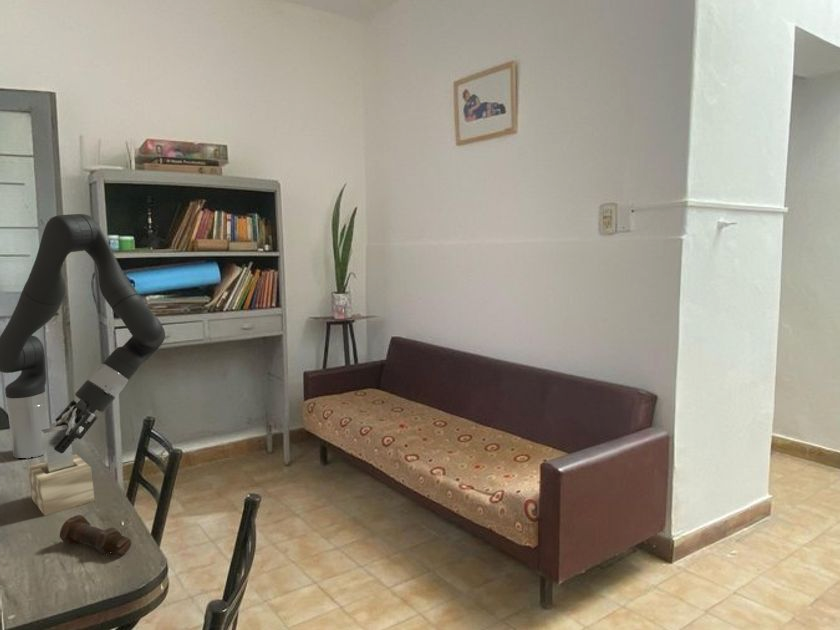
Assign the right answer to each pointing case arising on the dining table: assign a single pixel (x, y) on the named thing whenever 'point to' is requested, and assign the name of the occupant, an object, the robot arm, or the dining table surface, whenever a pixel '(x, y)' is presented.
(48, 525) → the dining table surface
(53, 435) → the tall grey square pillar
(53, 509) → the open beige box
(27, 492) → the dining table surface
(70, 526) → the bolt
